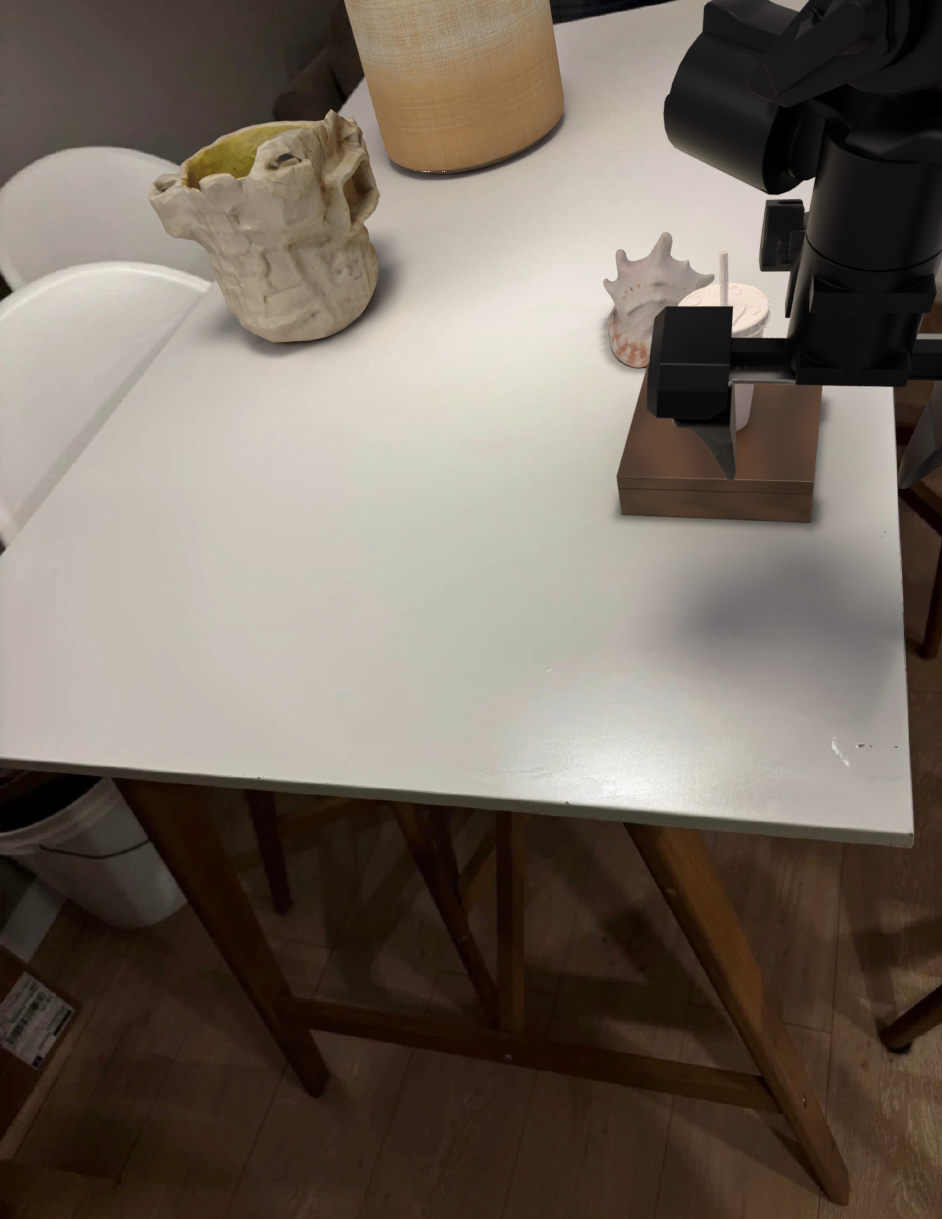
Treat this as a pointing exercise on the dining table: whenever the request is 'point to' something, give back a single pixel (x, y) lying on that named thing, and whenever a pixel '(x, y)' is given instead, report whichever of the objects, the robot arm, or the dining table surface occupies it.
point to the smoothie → (736, 321)
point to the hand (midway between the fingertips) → (814, 478)
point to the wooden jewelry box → (691, 478)
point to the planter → (458, 78)
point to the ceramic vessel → (281, 223)
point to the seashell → (646, 298)
